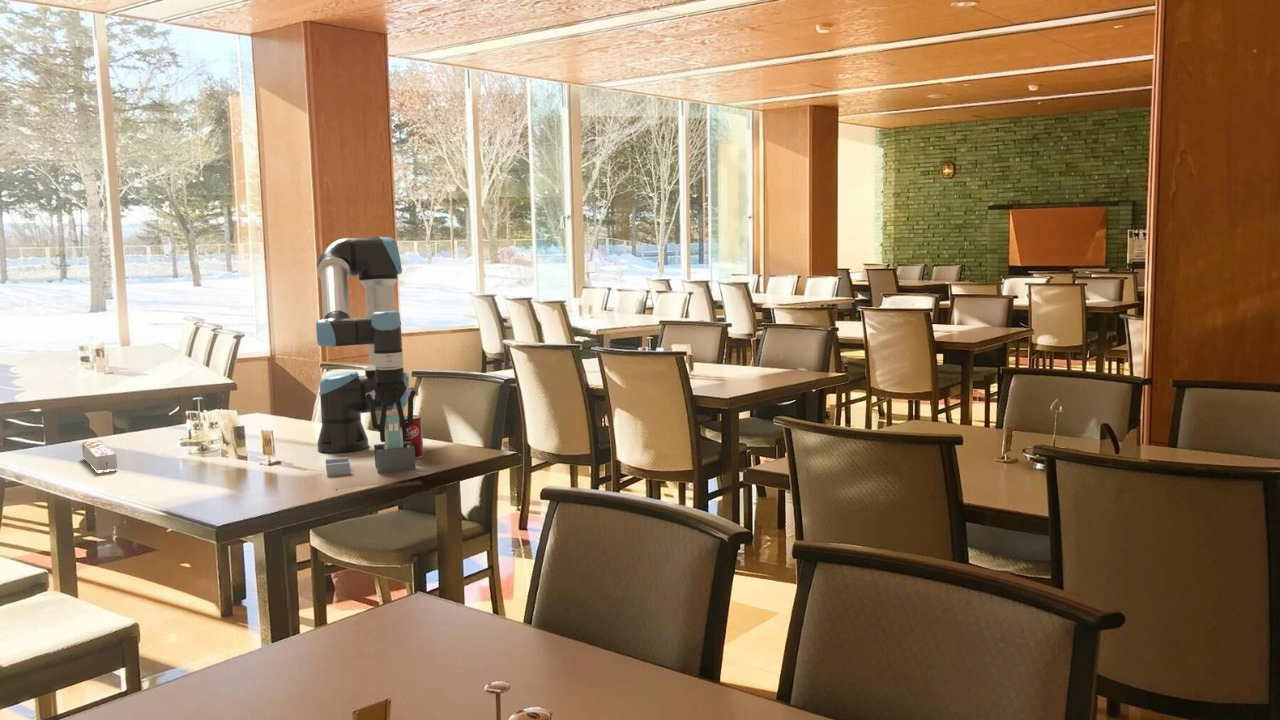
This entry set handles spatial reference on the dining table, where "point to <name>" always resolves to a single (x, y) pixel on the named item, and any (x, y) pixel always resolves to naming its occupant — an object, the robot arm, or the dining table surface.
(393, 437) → the plug
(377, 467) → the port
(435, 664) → the dining table surface
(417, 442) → the soda can
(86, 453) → the box
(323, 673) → the dining table surface
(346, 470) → the block
